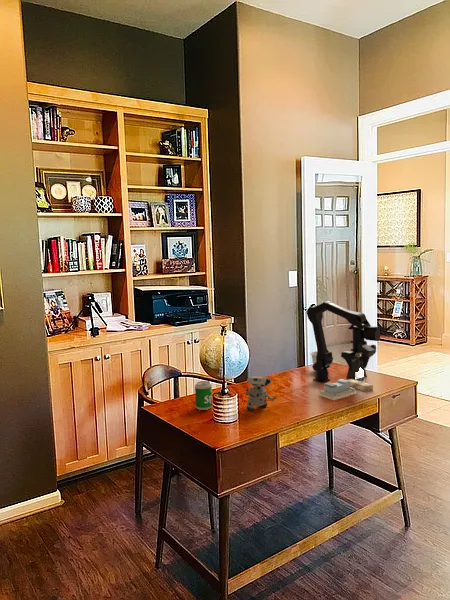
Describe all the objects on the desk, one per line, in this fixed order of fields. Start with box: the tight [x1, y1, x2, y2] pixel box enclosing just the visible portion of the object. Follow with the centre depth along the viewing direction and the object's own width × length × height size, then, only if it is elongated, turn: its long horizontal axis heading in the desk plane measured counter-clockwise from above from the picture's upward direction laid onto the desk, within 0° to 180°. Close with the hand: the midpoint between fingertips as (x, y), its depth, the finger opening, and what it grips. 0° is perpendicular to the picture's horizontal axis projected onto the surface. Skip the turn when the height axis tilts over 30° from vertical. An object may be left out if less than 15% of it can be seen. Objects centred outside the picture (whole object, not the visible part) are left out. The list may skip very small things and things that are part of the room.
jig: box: [318, 387, 357, 401], centre depth 236 cm, size 15×10×2 cm, turn 123°
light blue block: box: [323, 378, 350, 394], centre depth 236 cm, size 12×5×5 cm, turn 123°
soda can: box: [194, 380, 213, 411], centre depth 223 cm, size 8×8×12 cm
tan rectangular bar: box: [347, 378, 374, 393], centre depth 245 cm, size 14×4×3 cm, turn 32°
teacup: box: [310, 350, 334, 366], centre depth 277 cm, size 12×15×10 cm
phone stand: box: [346, 355, 368, 379], centre depth 263 cm, size 9×6×12 cm, turn 124°
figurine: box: [245, 375, 277, 412], centre depth 219 cm, size 9×12×15 cm
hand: (358, 369), depth 245 cm, fingers open, 9 cm apart
